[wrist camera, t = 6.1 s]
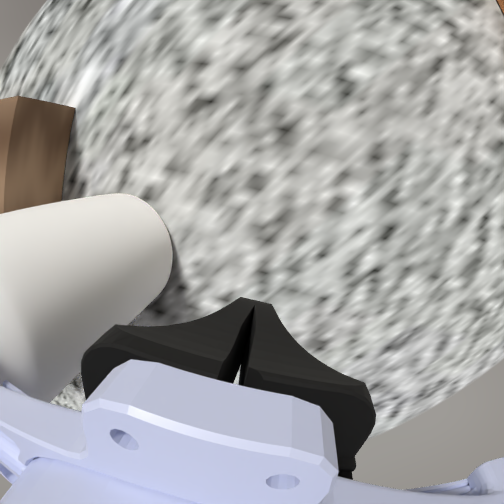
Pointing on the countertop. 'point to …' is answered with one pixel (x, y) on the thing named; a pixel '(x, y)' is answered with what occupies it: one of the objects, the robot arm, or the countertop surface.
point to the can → (73, 283)
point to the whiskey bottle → (501, 4)
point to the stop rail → (32, 152)
